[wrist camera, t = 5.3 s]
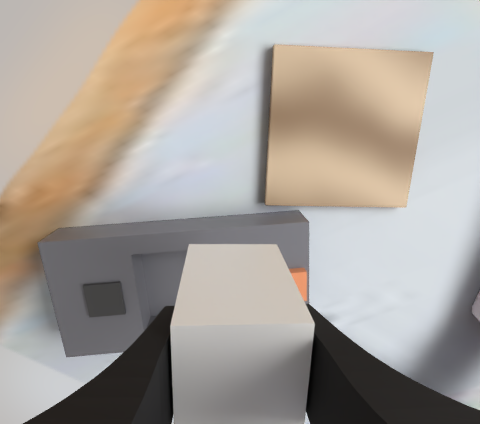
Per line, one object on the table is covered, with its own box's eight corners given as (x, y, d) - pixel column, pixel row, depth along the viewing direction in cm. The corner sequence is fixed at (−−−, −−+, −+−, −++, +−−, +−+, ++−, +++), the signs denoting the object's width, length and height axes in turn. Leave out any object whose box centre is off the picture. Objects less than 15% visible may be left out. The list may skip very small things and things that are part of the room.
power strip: (297, 208, 22) (311, 224, 19) (298, 309, 24) (311, 340, 21) (61, 226, 22) (31, 246, 18) (84, 328, 24) (61, 364, 20)
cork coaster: (401, 205, 22) (406, 207, 22) (264, 203, 21) (265, 205, 21) (427, 54, 20) (433, 52, 19) (272, 46, 19) (274, 44, 18)
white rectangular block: (271, 319, 16) (303, 433, 10) (190, 321, 16) (174, 439, 10) (276, 244, 15) (314, 323, 9) (188, 244, 14) (169, 326, 9)
